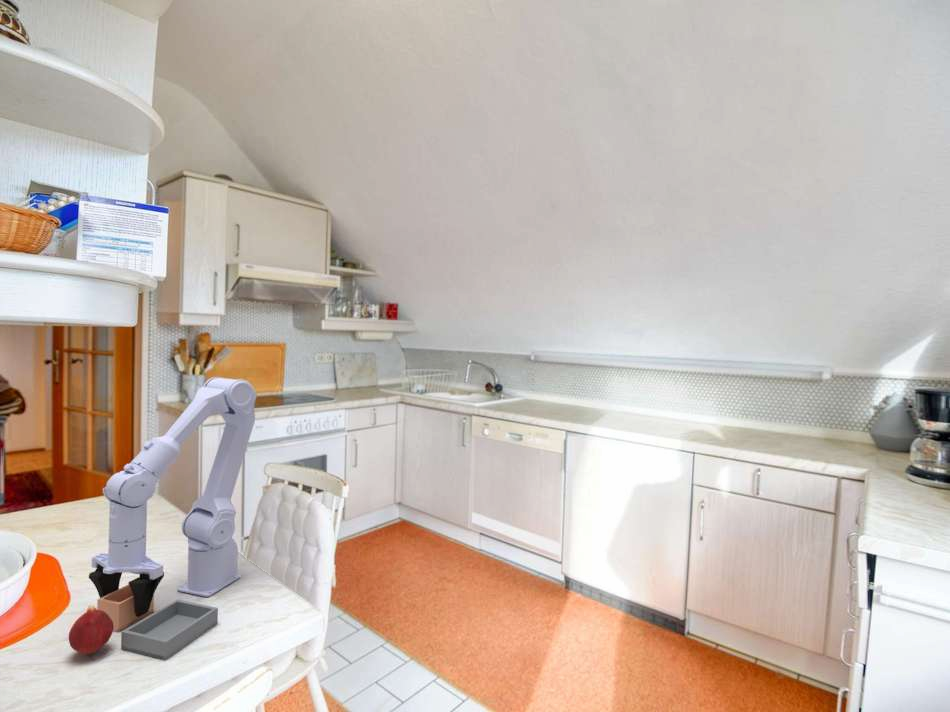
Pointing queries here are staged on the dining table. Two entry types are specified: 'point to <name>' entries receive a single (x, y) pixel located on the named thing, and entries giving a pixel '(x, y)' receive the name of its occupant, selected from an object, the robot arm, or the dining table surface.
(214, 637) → the dining table surface
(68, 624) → the dining table surface
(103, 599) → the small crate
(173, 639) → the big crate
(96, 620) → the onion
